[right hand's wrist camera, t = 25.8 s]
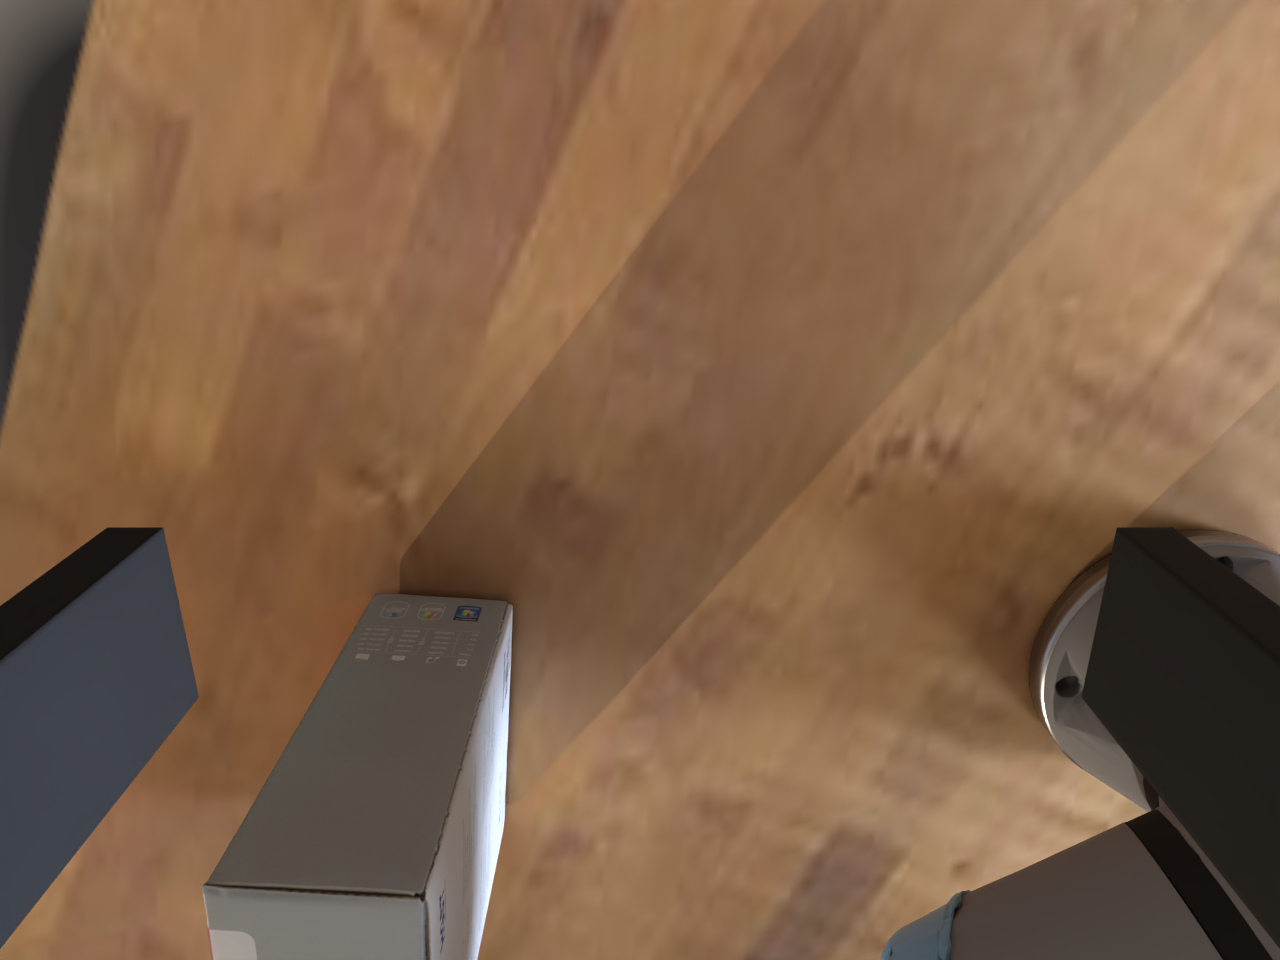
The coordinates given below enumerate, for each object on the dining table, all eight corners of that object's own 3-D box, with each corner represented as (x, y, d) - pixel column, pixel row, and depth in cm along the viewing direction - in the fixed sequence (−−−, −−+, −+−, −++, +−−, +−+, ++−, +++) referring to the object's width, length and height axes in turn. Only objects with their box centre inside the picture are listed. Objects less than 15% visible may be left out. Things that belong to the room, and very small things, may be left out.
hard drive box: (371, 587, 47) (197, 878, 29) (515, 597, 48) (434, 892, 29) (379, 819, 53) (238, 1188, 34) (508, 826, 53) (437, 1197, 35)
